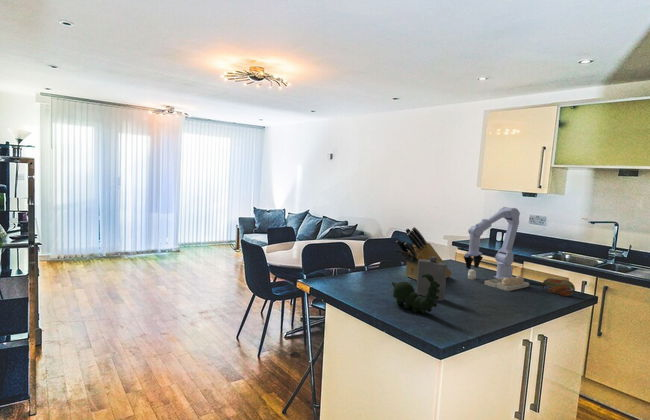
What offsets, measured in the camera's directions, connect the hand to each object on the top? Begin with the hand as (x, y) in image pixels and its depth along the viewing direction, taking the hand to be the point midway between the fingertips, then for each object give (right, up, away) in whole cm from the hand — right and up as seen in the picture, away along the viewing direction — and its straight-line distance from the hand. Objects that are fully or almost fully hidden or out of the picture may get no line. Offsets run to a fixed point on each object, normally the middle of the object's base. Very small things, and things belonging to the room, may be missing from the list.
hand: (472, 268), depth 234 cm
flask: (-37, -8, -42) cm, 56 cm away
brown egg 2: (+22, -8, -13) cm, 26 cm away
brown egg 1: (+11, -8, -20) cm, 24 cm away
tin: (+37, -11, -25) cm, 45 cm away
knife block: (-31, -6, -4) cm, 32 cm away
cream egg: (0, -7, +1) cm, 7 cm away
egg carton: (+14, -8, -14) cm, 21 cm away
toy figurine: (-51, -9, -62) cm, 81 cm away
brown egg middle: (+16, -8, -16) cm, 24 cm away
